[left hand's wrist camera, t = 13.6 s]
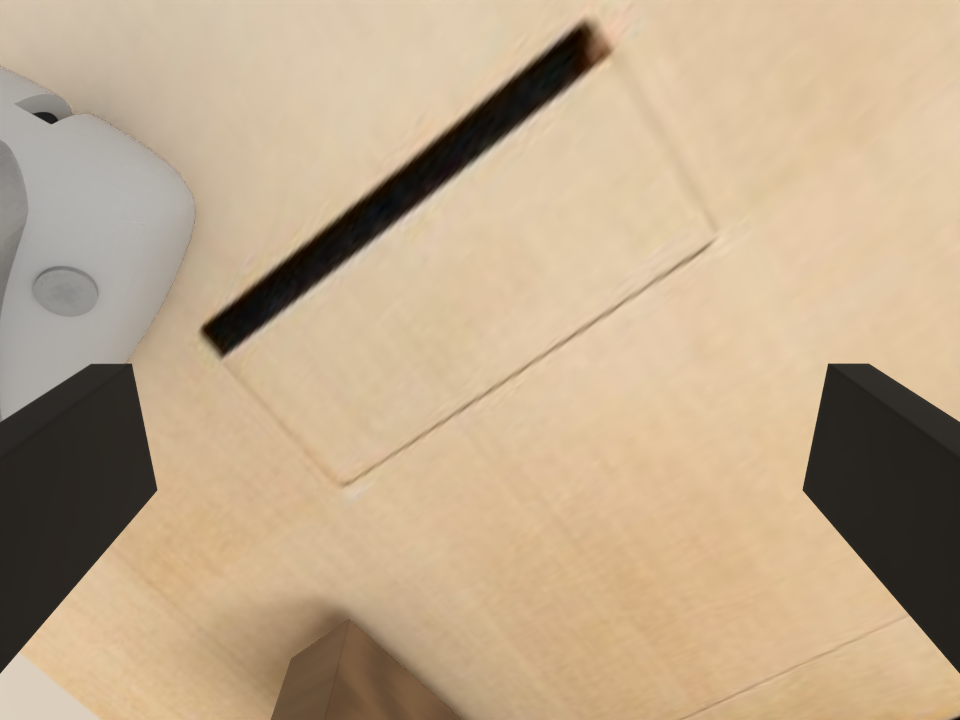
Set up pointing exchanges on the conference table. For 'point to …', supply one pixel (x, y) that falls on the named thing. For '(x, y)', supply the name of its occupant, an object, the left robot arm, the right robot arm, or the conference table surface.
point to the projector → (78, 240)
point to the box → (353, 683)
